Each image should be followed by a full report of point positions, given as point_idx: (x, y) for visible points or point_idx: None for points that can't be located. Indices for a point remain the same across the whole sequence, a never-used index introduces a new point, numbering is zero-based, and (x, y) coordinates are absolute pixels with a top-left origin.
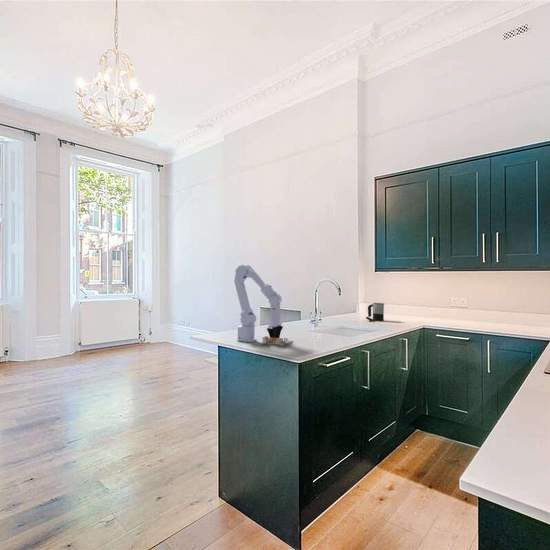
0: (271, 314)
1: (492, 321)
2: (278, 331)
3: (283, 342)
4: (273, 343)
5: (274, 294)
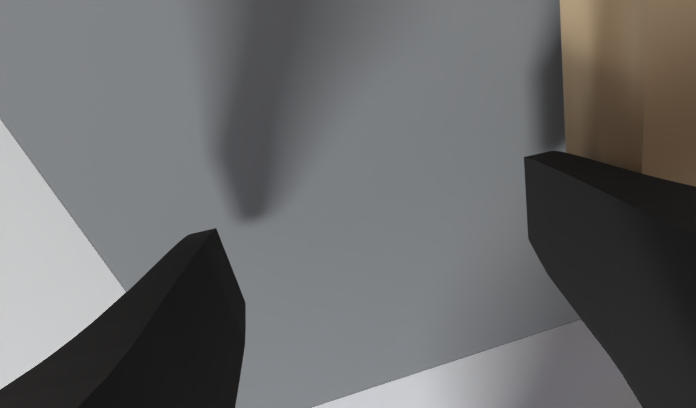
0: None
1: None
2: (161, 405)
3: (255, 12)
4: (519, 143)
5: None
